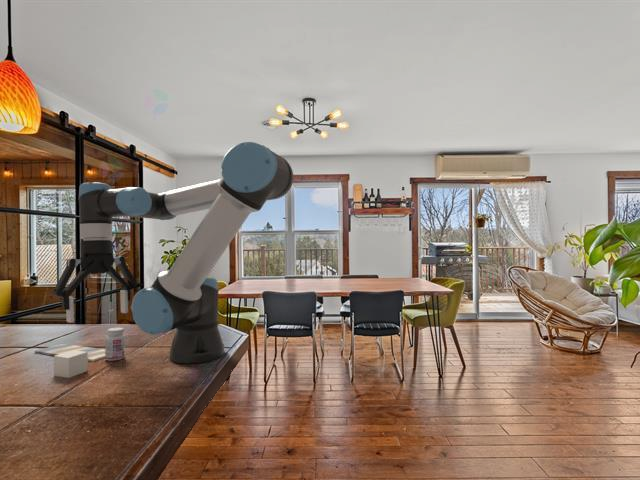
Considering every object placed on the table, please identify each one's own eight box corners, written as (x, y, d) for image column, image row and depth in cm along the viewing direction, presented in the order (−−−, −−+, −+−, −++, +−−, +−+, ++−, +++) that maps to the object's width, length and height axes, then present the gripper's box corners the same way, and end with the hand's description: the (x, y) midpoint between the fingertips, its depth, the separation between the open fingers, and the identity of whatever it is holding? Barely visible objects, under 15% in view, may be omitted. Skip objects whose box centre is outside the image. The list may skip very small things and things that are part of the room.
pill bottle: (113, 362, 99) (114, 331, 99) (101, 359, 100) (101, 330, 100) (128, 357, 103) (128, 328, 103) (115, 354, 105) (116, 326, 105)
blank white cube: (87, 371, 92) (87, 351, 92) (68, 378, 87) (68, 357, 87) (73, 369, 94) (73, 350, 94) (54, 375, 89) (54, 355, 89)
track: (118, 353, 107) (118, 351, 107) (93, 361, 99) (93, 359, 99) (61, 345, 114) (61, 343, 114) (34, 352, 107) (34, 350, 107)
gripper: (135, 239, 110) (137, 308, 110) (36, 240, 90) (38, 325, 89) (148, 238, 106) (150, 310, 105) (47, 239, 85) (49, 328, 85)
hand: (98, 317), depth 97 cm, fingers open, 13 cm apart
